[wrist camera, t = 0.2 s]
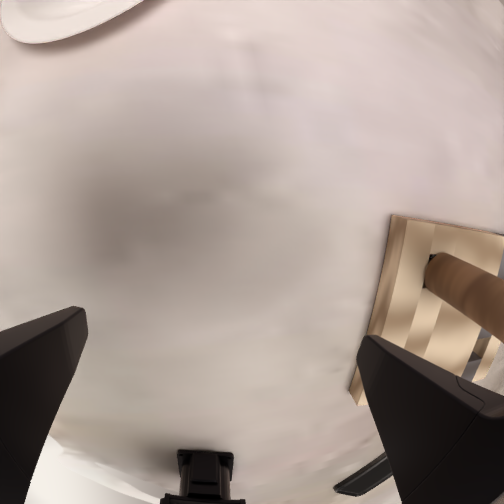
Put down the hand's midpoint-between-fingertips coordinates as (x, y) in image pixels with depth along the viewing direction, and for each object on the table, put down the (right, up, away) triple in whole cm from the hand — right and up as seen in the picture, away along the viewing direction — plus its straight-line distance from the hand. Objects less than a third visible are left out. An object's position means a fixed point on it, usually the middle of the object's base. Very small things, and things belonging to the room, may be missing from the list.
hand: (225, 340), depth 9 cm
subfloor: (+22, -4, +18) cm, 28 cm away
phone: (+20, -30, +25) cm, 44 cm away
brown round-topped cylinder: (+17, +2, +16) cm, 23 cm away
